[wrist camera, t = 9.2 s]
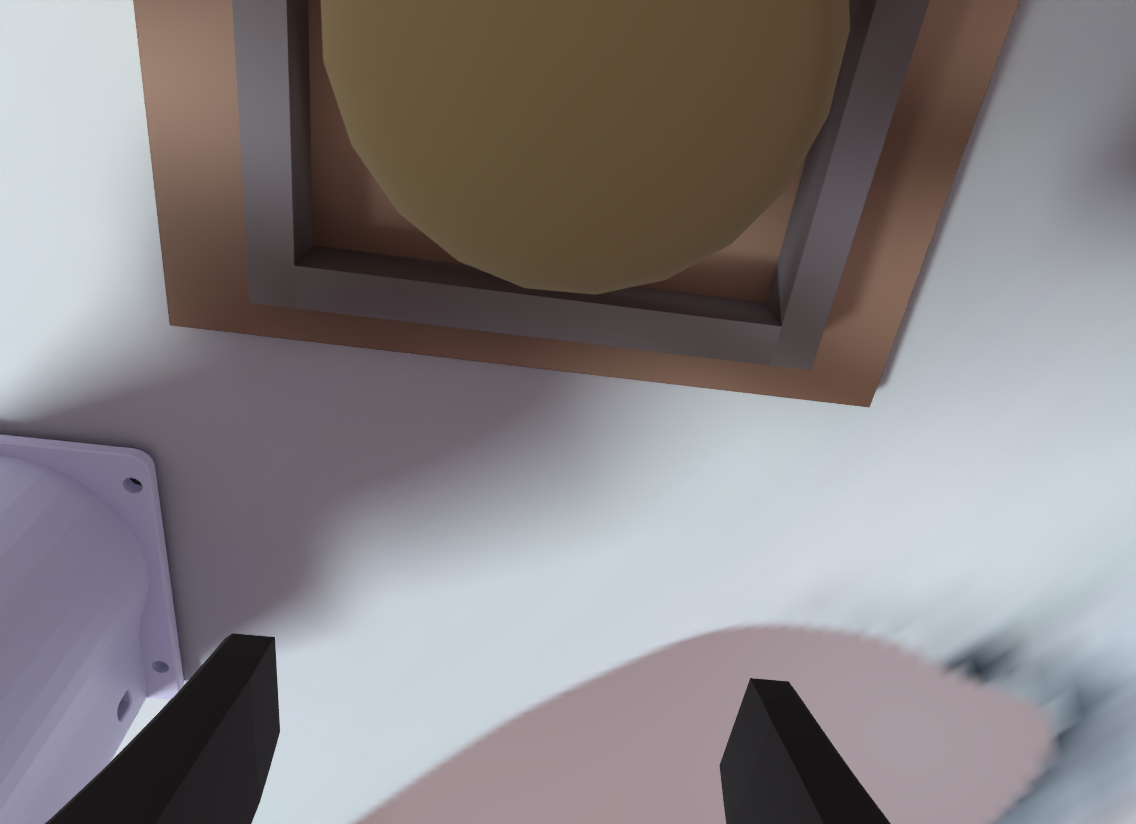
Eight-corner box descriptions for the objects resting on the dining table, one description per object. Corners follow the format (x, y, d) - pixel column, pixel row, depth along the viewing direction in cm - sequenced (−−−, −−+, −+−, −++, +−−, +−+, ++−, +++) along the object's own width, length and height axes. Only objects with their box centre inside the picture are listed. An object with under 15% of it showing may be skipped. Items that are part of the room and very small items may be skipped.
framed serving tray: (861, 396, 21) (891, 436, 20) (179, 316, 20) (142, 350, 18) (1150, -405, 14) (1243, -465, 12) (79, -635, 12) (-4, -743, 10)
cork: (365, -91, 15) (48, -210, 6) (661, -233, 14) (888, -669, 5) (491, 200, 18) (423, 455, 8) (747, 97, 17) (1001, 252, 7)
